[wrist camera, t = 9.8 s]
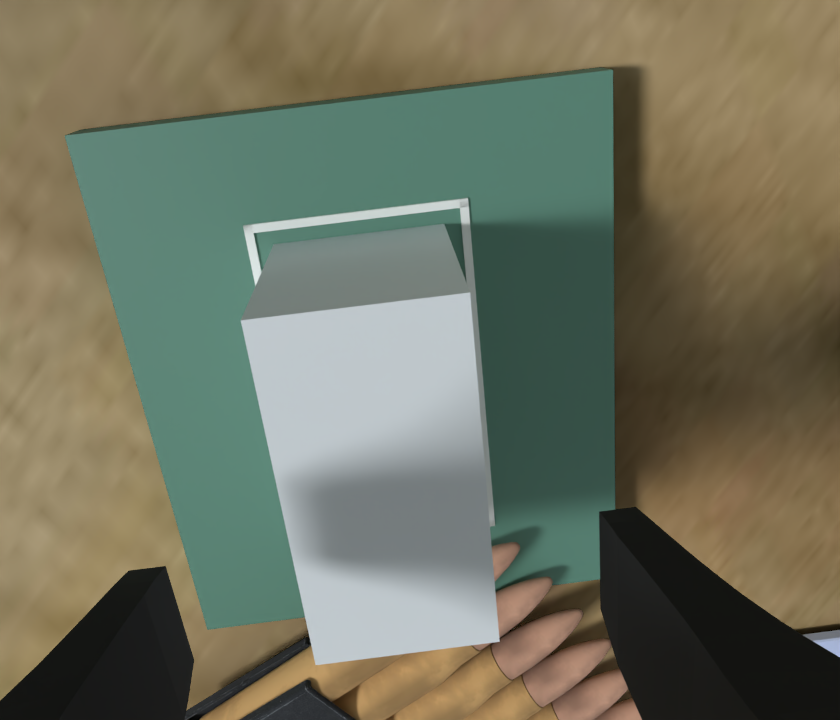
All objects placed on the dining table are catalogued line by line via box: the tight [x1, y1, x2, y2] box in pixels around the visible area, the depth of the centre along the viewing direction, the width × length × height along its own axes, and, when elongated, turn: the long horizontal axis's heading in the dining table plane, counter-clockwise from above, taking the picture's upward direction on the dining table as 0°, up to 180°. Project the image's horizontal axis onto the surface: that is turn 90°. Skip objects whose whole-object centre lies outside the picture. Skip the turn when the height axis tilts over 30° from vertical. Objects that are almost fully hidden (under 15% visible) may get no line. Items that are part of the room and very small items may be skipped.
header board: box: [65, 67, 615, 630], centre depth 18 cm, size 12×14×4 cm
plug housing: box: [241, 224, 500, 665], centre depth 17 cm, size 4×8×5 cm, turn 6°
